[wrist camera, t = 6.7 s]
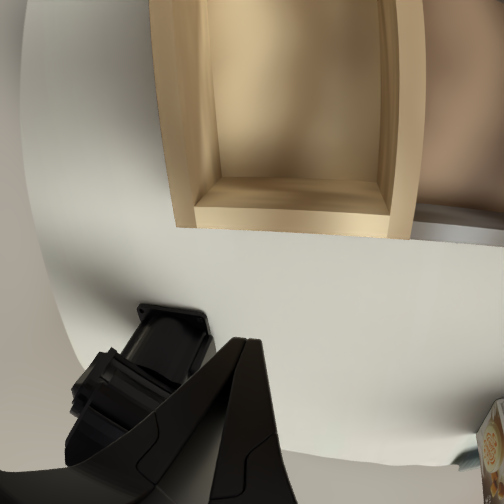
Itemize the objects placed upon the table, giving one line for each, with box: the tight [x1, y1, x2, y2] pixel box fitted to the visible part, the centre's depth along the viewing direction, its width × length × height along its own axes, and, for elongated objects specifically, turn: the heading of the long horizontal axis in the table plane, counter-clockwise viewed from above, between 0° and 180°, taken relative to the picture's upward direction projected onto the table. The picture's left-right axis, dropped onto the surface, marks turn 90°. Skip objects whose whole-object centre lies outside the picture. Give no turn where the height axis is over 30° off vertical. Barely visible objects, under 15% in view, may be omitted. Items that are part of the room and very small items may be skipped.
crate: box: [149, 0, 426, 240], centre depth 12 cm, size 10×12×5 cm
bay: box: [410, 0, 504, 247], centre depth 11 cm, size 22×15×6 cm, turn 94°
